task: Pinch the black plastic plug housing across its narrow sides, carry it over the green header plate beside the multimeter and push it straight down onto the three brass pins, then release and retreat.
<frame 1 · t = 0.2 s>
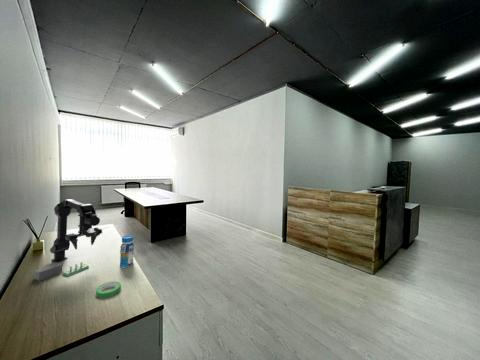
hand: (84, 246, 127), 14 cm above the table, fingers open, 9 cm apart
tape roll: (108, 292, 106), on the table
header strip: (76, 271, 124), on the table
plug housing: (48, 275, 117), on the table
beverage bottle: (126, 265, 135), on the table
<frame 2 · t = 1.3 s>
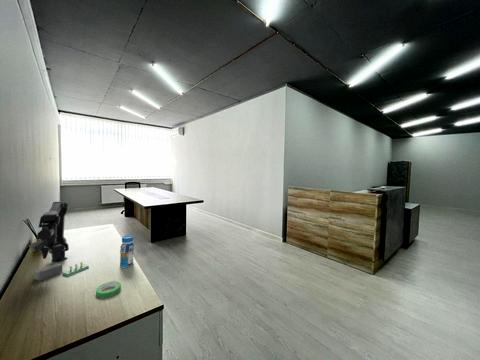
hand: (49, 260, 117), 9 cm above the table, fingers open, 9 cm apart
nothing on the table moved.
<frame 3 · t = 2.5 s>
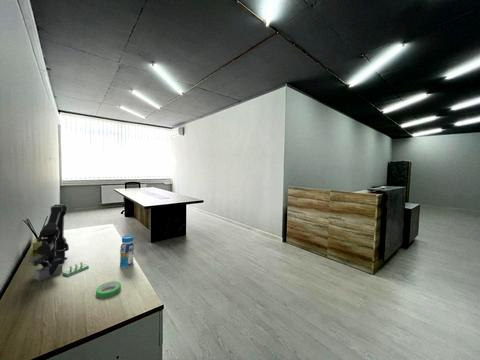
hand: (48, 273, 117), 1 cm above the table, fingers closed on plug housing, 5 cm apart
plug housing: (48, 275, 117), on the table, touching gripper
everything else where it was.
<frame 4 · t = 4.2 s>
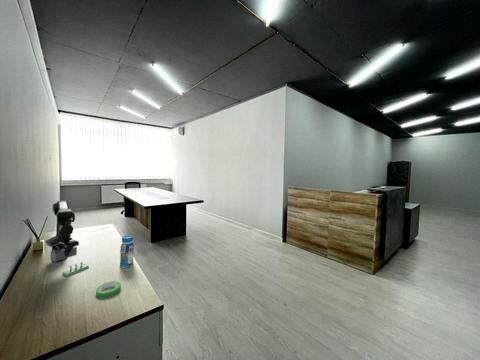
hand: (64, 255, 121), 11 cm above the table, fingers closed on plug housing, 5 cm apart
plug housing: (63, 257, 121), point 10 cm above the table, touching gripper
everything else where it was.
when the fingers open (3 cm above the table, at t = 6.1 s): plug housing stays where it is, resting on header strip.
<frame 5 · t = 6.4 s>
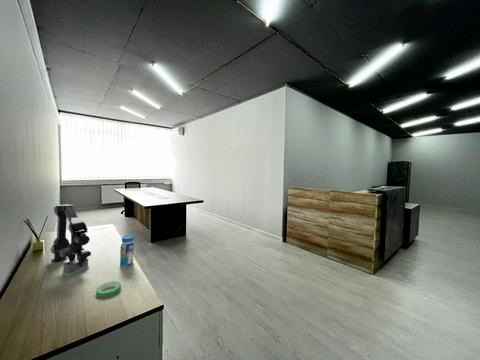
hand: (76, 265, 124), 3 cm above the table, fingers open, 8 cm apart
plug housing: (75, 268, 124), point 2 cm above the table, touching header strip
everything else where it was.
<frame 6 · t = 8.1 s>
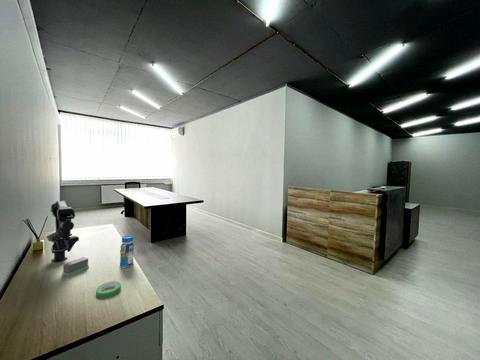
hand: (64, 250, 127), 12 cm above the table, fingers open, 9 cm apart
nothing on the table moved.
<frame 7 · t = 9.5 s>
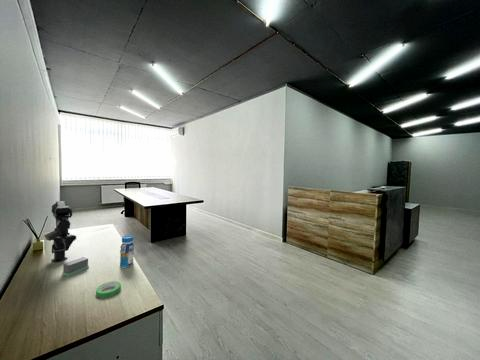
hand: (62, 249, 127), 12 cm above the table, fingers open, 9 cm apart
nothing on the table moved.
at the end: plug housing 0.1 cm off-centre on the header strip, point 1.6 cm above the header strip's base; plug housing tilted 1°; the gripper is holding nothing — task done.
